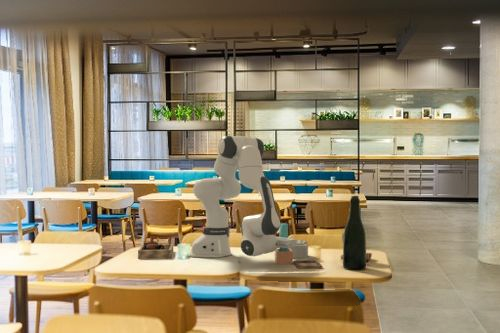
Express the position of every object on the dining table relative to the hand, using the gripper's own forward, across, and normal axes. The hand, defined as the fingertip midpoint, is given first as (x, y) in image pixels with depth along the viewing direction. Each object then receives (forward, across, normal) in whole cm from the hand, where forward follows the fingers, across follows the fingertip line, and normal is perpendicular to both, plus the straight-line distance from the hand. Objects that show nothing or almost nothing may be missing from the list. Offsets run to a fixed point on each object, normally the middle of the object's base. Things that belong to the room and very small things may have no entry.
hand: (284, 239), depth 292 cm
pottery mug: (-23, +64, +12) cm, 69 cm away
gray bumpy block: (+16, +3, +12) cm, 20 cm away
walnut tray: (-1, -14, +12) cm, 18 cm away
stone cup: (+27, -24, +12) cm, 38 cm away
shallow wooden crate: (-21, +64, +12) cm, 68 cm away
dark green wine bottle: (+10, -32, +12) cm, 35 cm away
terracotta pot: (-1, 0, +12) cm, 12 cm away
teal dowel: (-1, 0, +11) cm, 11 cm away
